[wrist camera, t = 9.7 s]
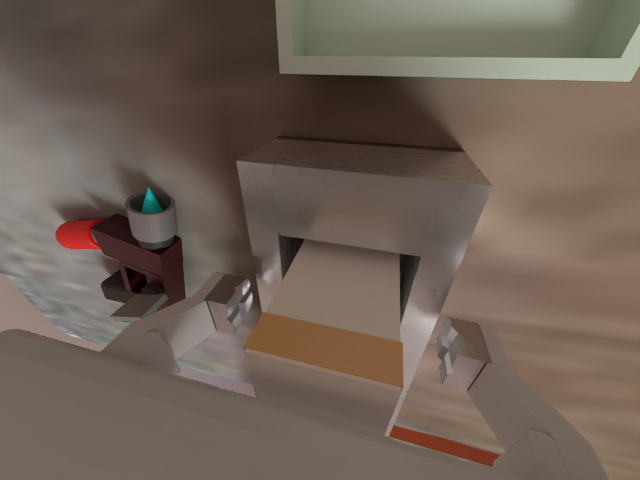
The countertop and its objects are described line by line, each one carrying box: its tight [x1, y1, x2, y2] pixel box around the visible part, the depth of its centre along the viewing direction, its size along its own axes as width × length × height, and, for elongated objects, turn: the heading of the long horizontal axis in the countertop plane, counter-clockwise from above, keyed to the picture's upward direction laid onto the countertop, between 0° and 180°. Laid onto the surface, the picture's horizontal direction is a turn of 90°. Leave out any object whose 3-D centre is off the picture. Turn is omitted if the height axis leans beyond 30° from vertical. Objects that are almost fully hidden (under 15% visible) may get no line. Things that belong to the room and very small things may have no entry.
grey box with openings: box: [236, 136, 493, 437], centre depth 14 cm, size 13×20×8 cm
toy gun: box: [55, 187, 186, 322], centre depth 17 cm, size 10×12×5 cm
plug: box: [244, 239, 404, 435], centre depth 11 cm, size 4×4×8 cm
